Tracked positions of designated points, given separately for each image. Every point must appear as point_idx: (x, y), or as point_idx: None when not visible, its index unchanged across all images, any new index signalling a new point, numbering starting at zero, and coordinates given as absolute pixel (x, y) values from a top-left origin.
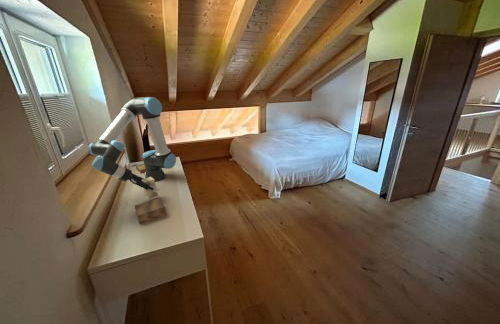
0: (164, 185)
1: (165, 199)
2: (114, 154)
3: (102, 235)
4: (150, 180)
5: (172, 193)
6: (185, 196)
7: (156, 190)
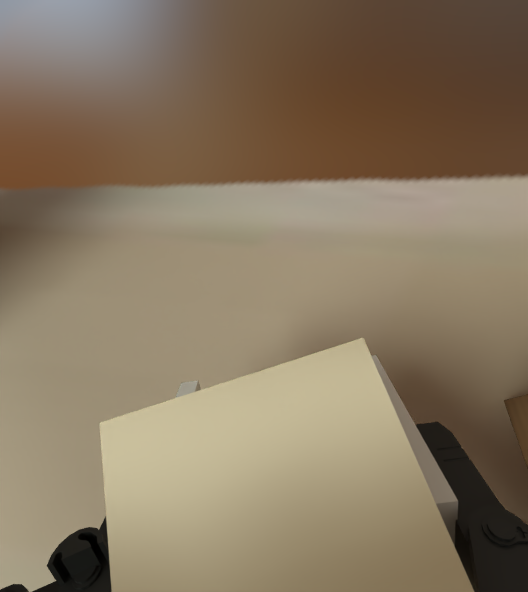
0: (59, 324)
1: None
2: None
3: None
4: (405, 459)
5: (272, 276)
6: (390, 191)
7: None
